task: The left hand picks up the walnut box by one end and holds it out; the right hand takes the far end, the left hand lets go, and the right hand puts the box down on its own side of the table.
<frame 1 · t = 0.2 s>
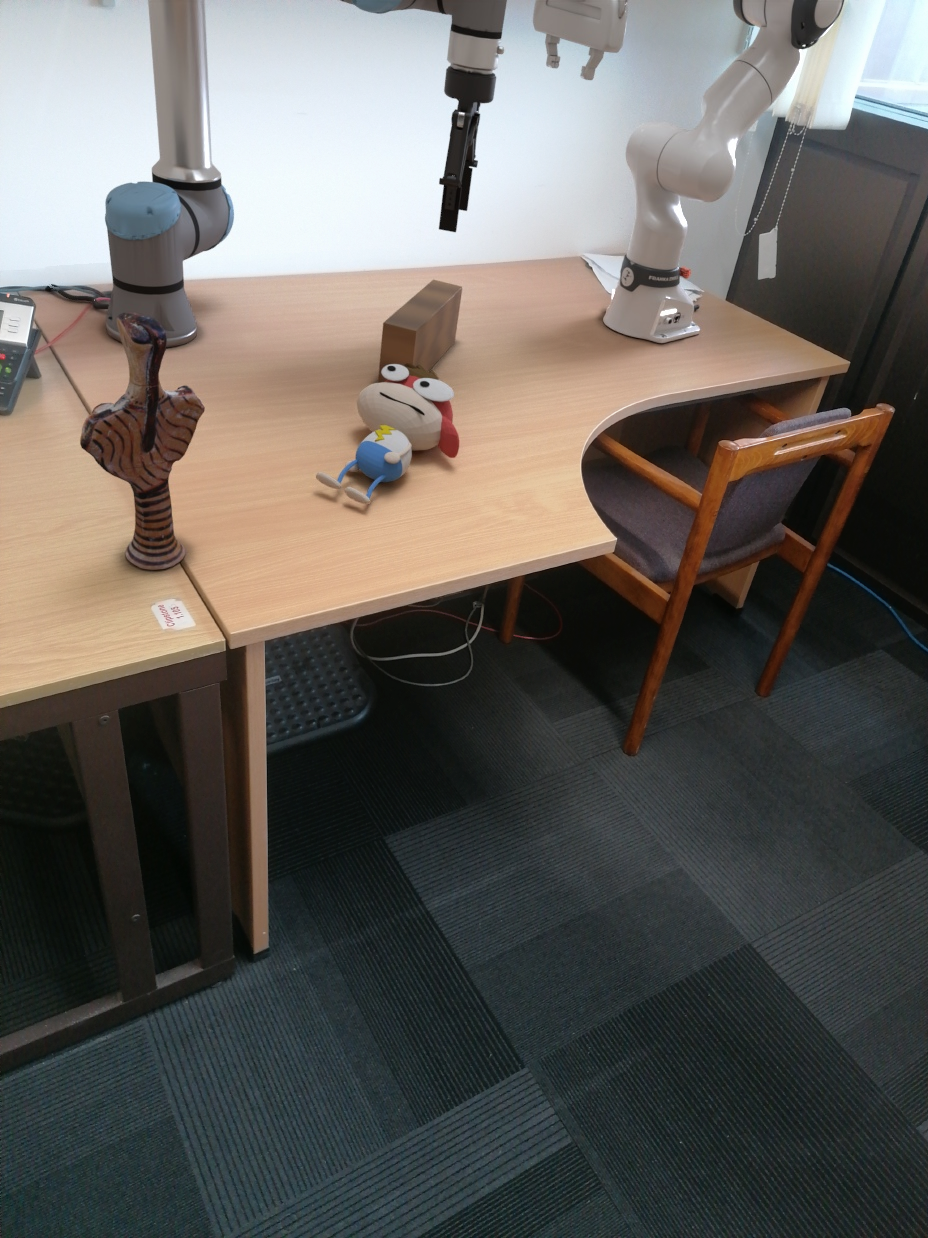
left hand: (453, 219, 144), 27 cm above the table, tool pointing down, fingers open, 13 cm apart
right hand: (568, 73, 152), 47 cm above the table, tool pointing down, fingers open, 8 cm apart
toy: (388, 459, 134), on the table
figurine: (158, 555, 108), on the table
box: (418, 361, 164), on the table
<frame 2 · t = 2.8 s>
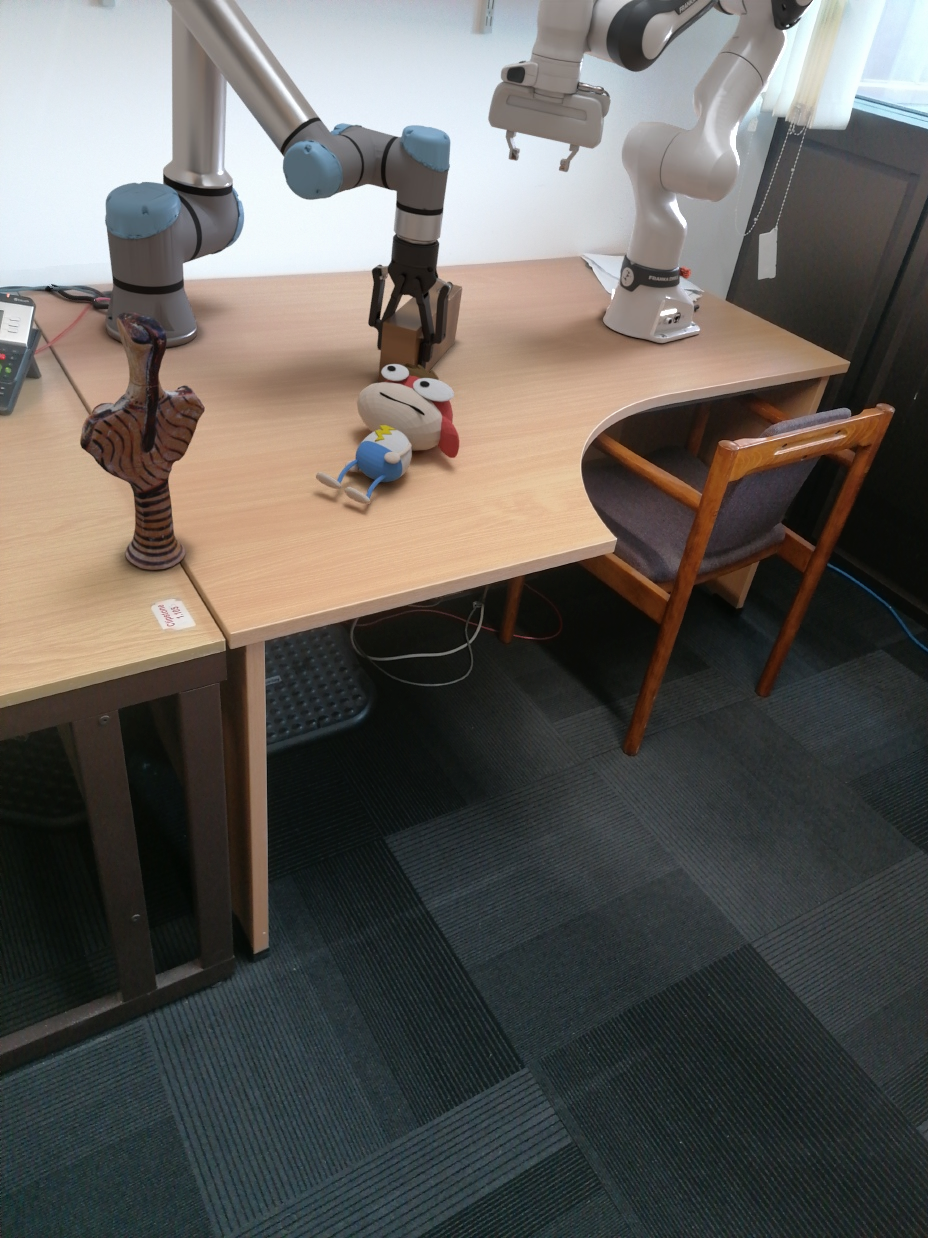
left hand: (402, 372, 157), 1 cm above the table, tool pointing down, fingers closed on box, 6 cm apart
right hand: (538, 164, 160), 32 cm above the table, tool pointing down, fingers open, 8 cm apart
box: (418, 361, 164), on the table, touching left hand
everything else where it was.
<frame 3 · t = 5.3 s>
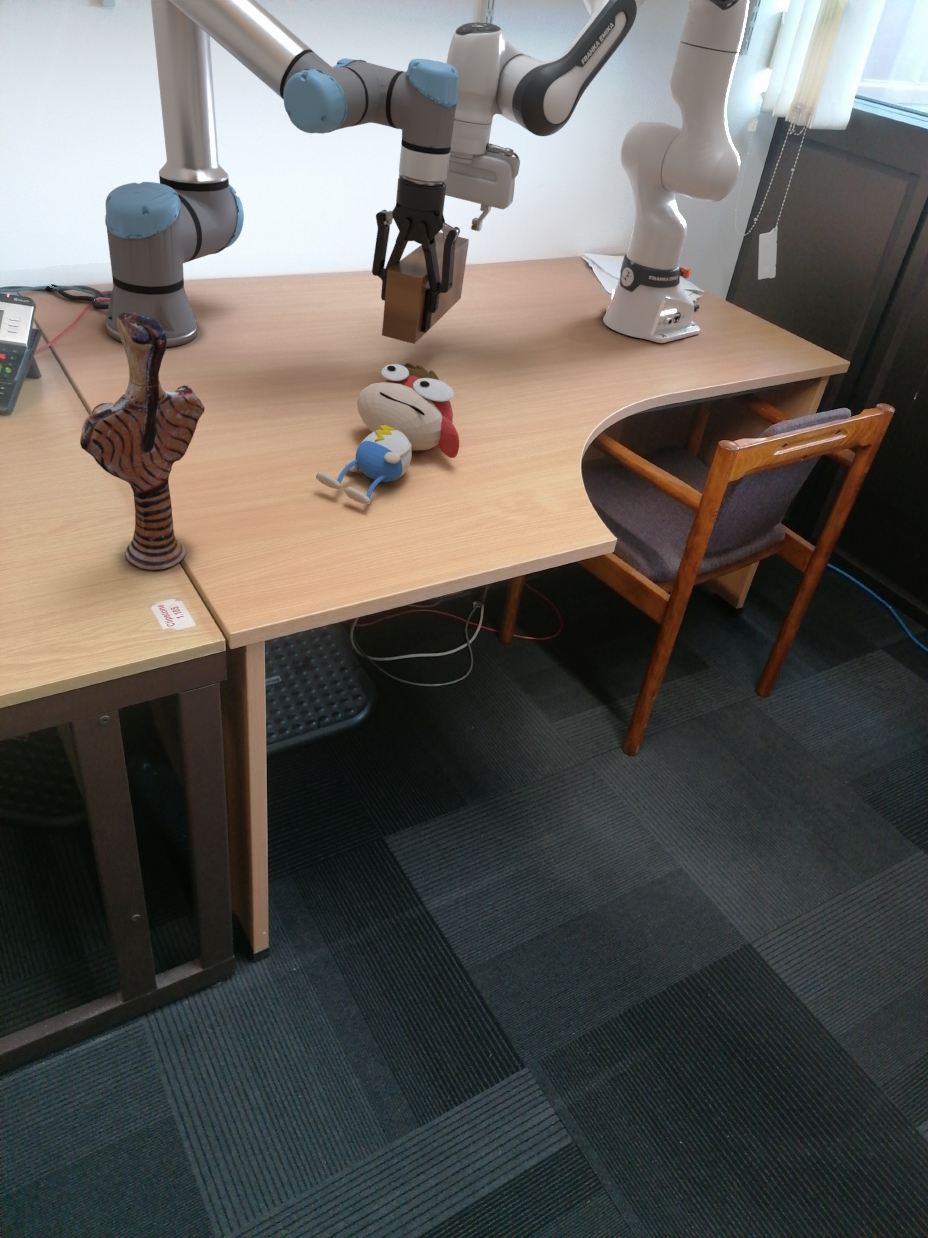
left hand: (407, 324, 151), 10 cm above the table, tool pointing down, fingers closed on box, 6 cm apart
right hand: (450, 223, 157), 23 cm above the table, tool pointing down, fingers open, 8 cm apart
box: (423, 315, 159), point 9 cm above the table, touching left hand
everything else where it was.
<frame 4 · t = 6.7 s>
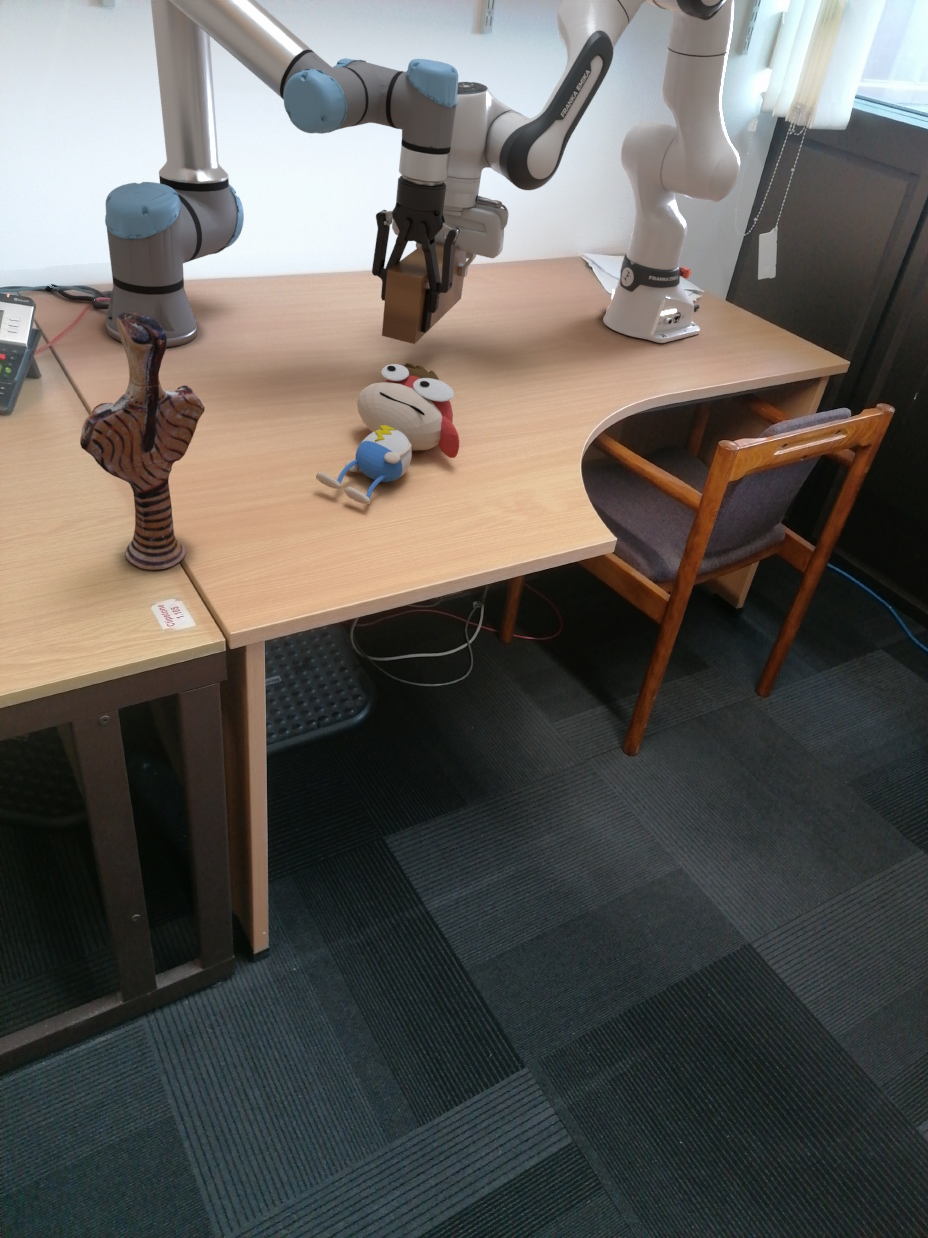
left hand: (407, 324, 151), 10 cm above the table, tool pointing down, fingers closed on box, 6 cm apart
right hand: (443, 270, 163), 14 cm above the table, tool pointing down, fingers closed on box, 6 cm apart
box: (423, 316, 159), point 9 cm above the table, touching left hand, right hand
everything else where it was.
when the left hand's fingers open (10 cm above the table, at t = 7.6 s): box stays where it is, held by the right hand.
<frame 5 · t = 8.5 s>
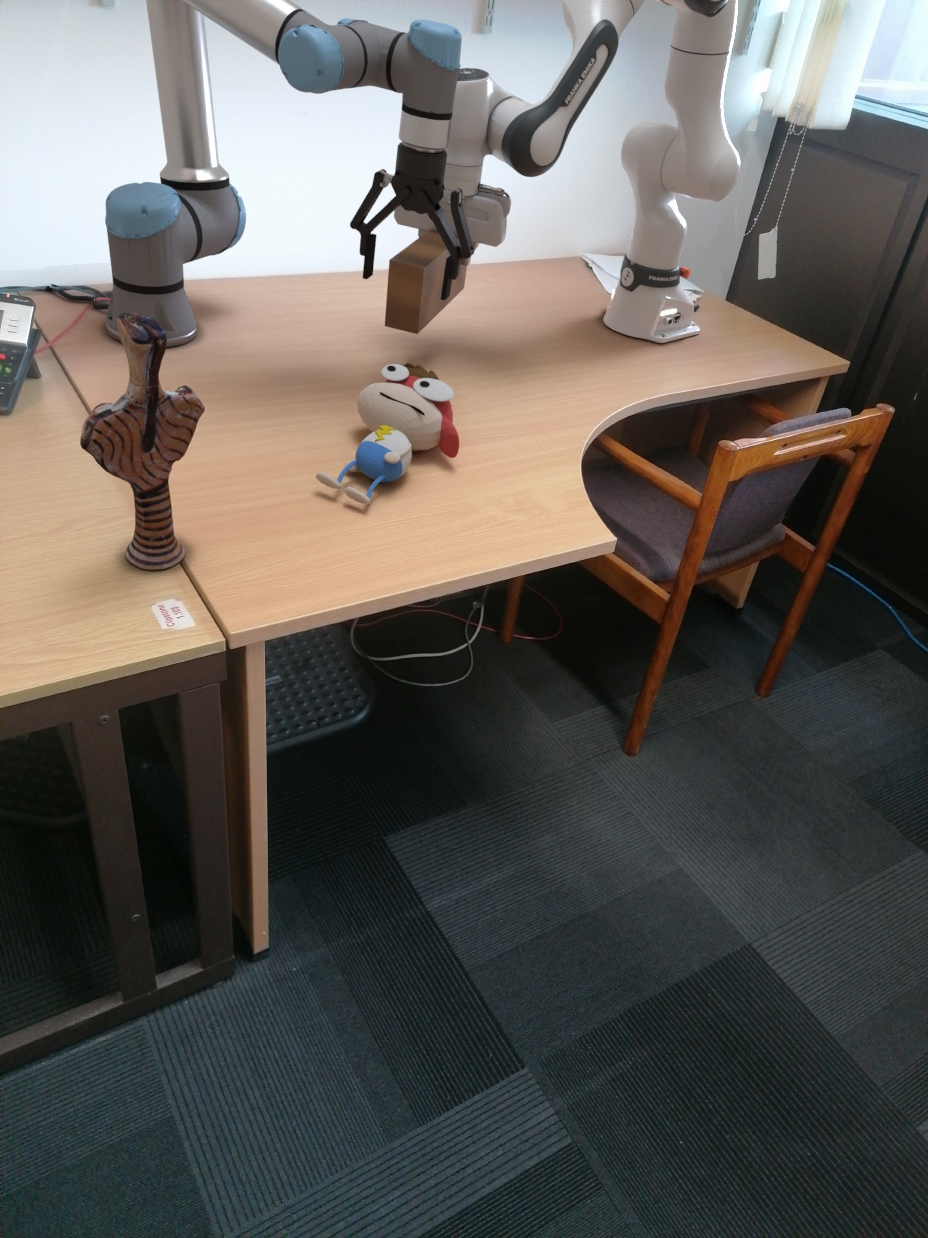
left hand: (406, 287, 146), 17 cm above the table, tool pointing down, fingers open, 13 cm apart
right hand: (445, 259, 161), 16 cm above the table, tool pointing down, fingers closed on box, 6 cm apart
box: (426, 305, 158), point 10 cm above the table, touching right hand
everything else where it was.
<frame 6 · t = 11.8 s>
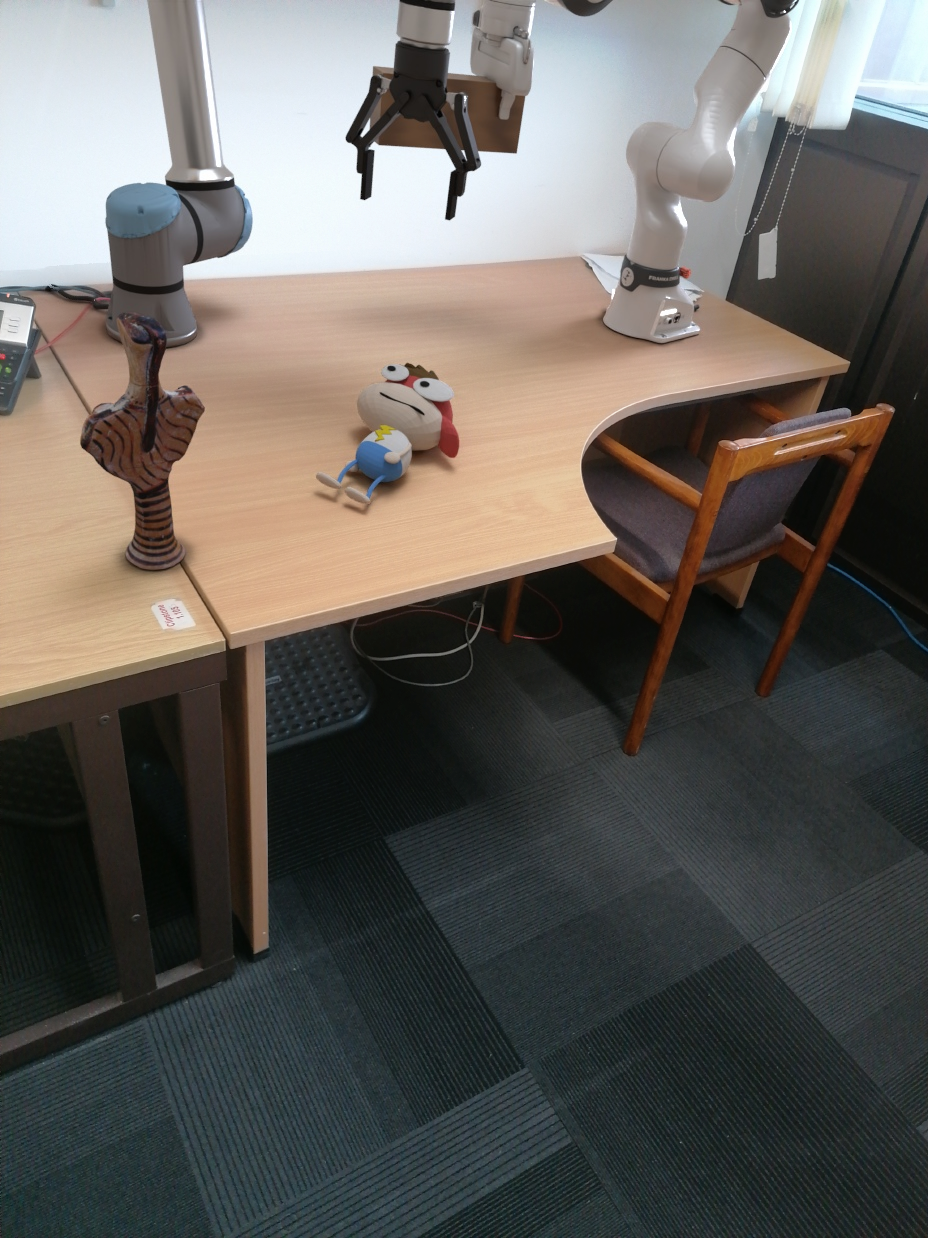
left hand: (407, 208, 134), 30 cm above the table, tool pointing down, fingers open, 13 cm apart
right hand: (494, 113, 160), 38 cm above the table, tool pointing down, fingers closed on box, 6 cm apart
box: (444, 145, 160), point 32 cm above the table, touching right hand
everything else where it was.
when the right hand's fingers open (7 cm above the table, at t = 17.2 s): box stays where it is, on the table.
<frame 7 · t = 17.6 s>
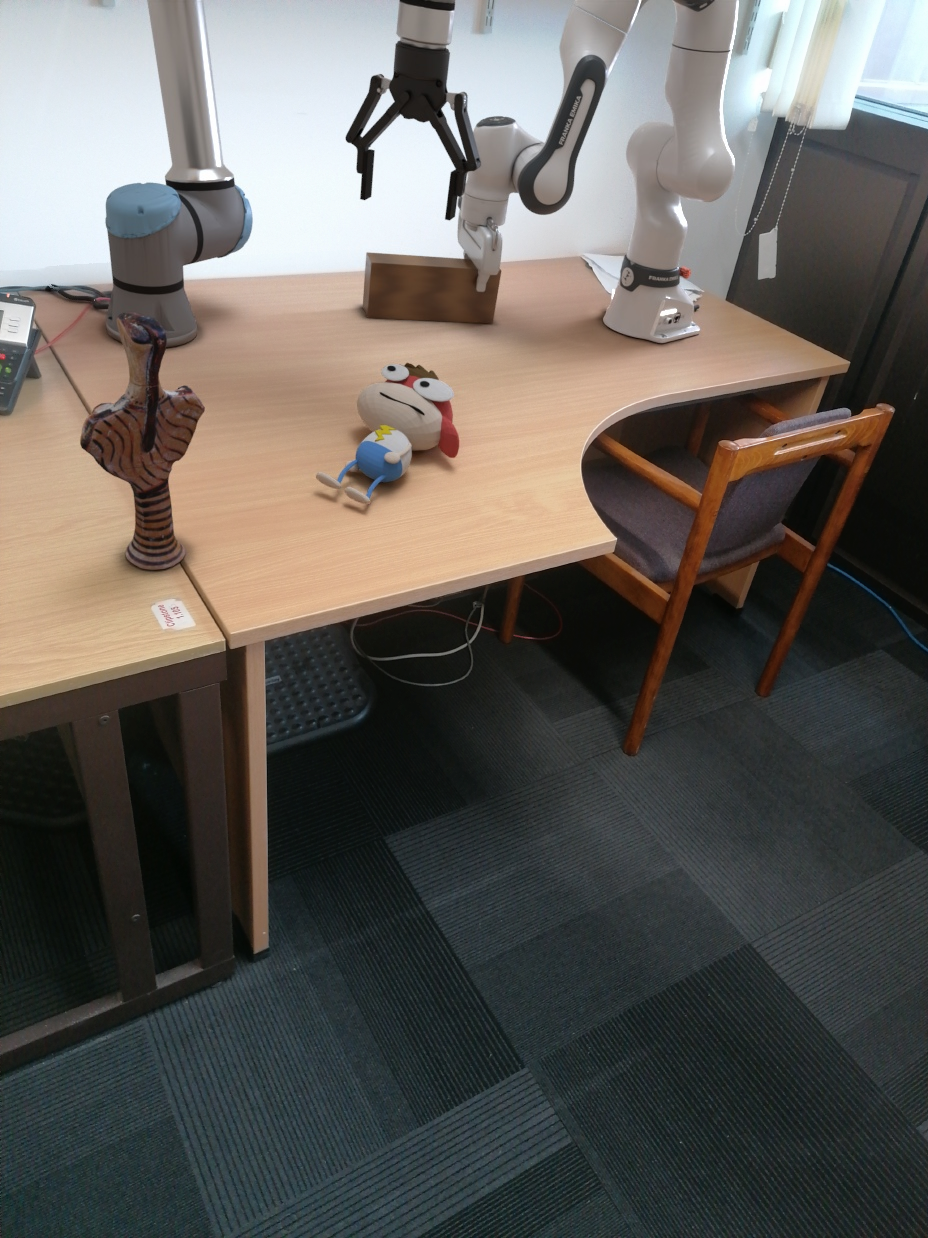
left hand: (407, 208, 134), 30 cm above the table, tool pointing down, fingers open, 13 cm apart
right hand: (473, 281, 181), 7 cm above the table, tool pointing down, fingers open, 8 cm apart
box: (428, 315, 183), on the table
everything else where it was.
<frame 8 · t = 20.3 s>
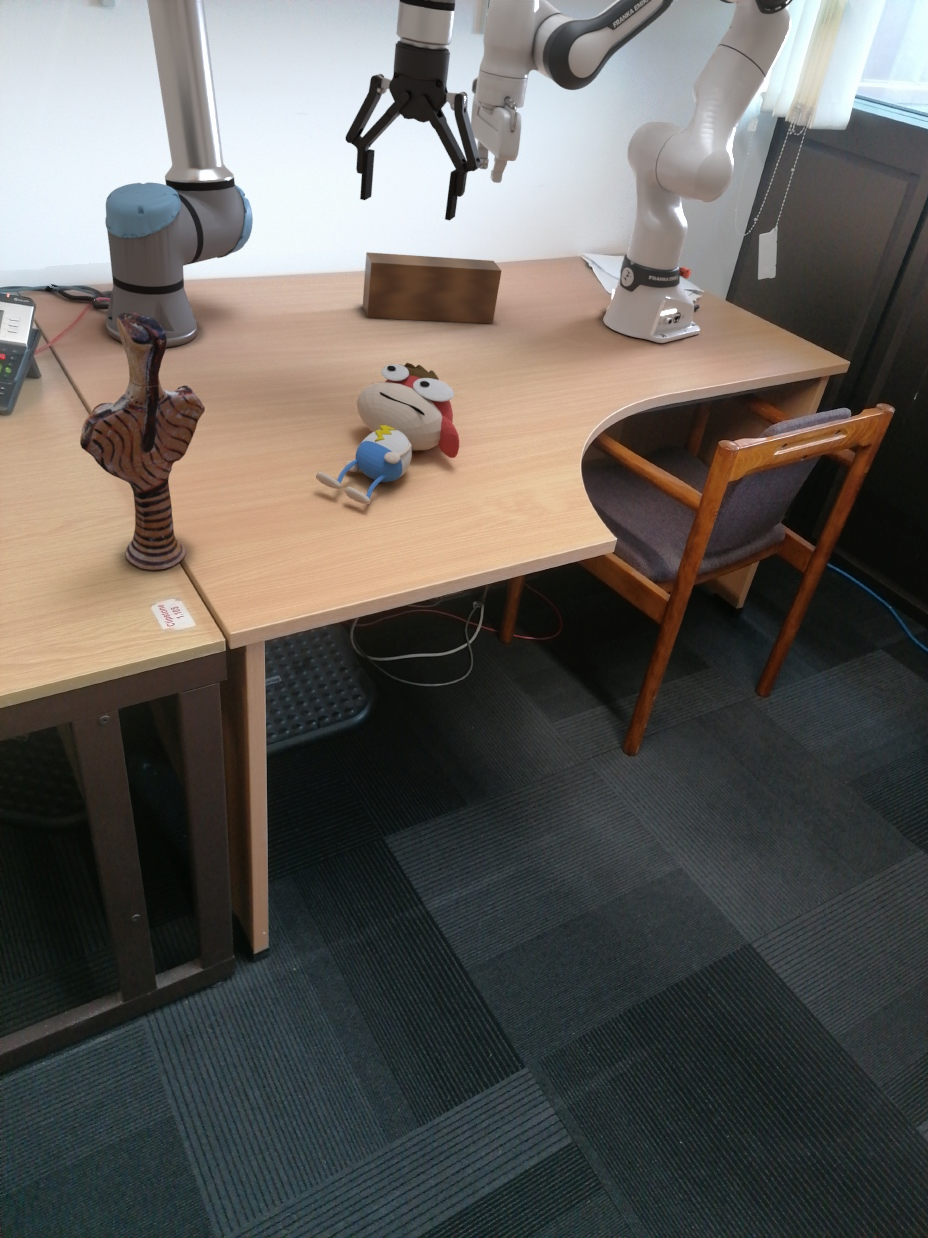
left hand: (407, 208, 134), 30 cm above the table, tool pointing down, fingers open, 13 cm apart
right hand: (488, 174, 169), 28 cm above the table, tool pointing down, fingers open, 8 cm apart
nothing on the table moved.
at the end: box inside the target area (8.6 cm from its centre), on the table; the left hand is holding nothing; the right hand is holding nothing; box at rest at the end (0.0 cm/s) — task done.
